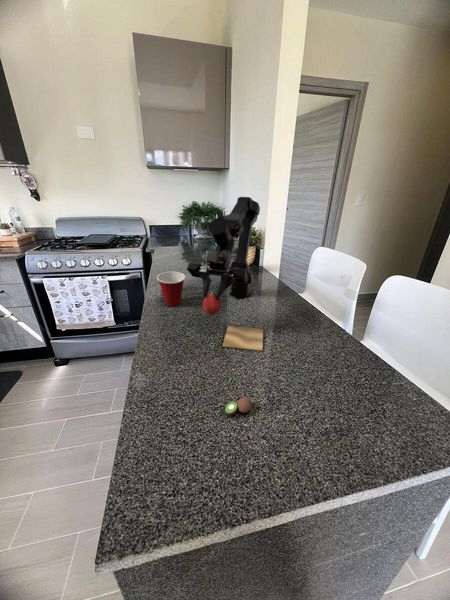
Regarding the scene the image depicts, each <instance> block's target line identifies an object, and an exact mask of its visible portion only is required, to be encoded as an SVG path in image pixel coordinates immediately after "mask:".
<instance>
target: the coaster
mask: <svg viewBox="0 0 450 600" xmlns="http://www.w3.org/2000/svg"><path fill="white" fill-rule="evenodd" d="M222 347H223V348H231V349H238V350H239V349H241V350H249V351H257V352H263V351H264V350H263V349H264V328H257V327H247V326H237V325H227V329H226V333H225V335H224V339H223V343H222Z"/></svg>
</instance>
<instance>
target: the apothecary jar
mask: <svg viewBox="0 0 450 600" xmlns="http://www.w3.org/2000/svg"><path fill="white" fill-rule="evenodd" d="M233 239H234V241H235V248H234V249H233V252H232V256H231V263H232V262H234V261H235V259H236V256H237V249H238V243H239V238H233ZM230 269H231V264H229V267H228V271H229V270H230Z"/></svg>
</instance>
